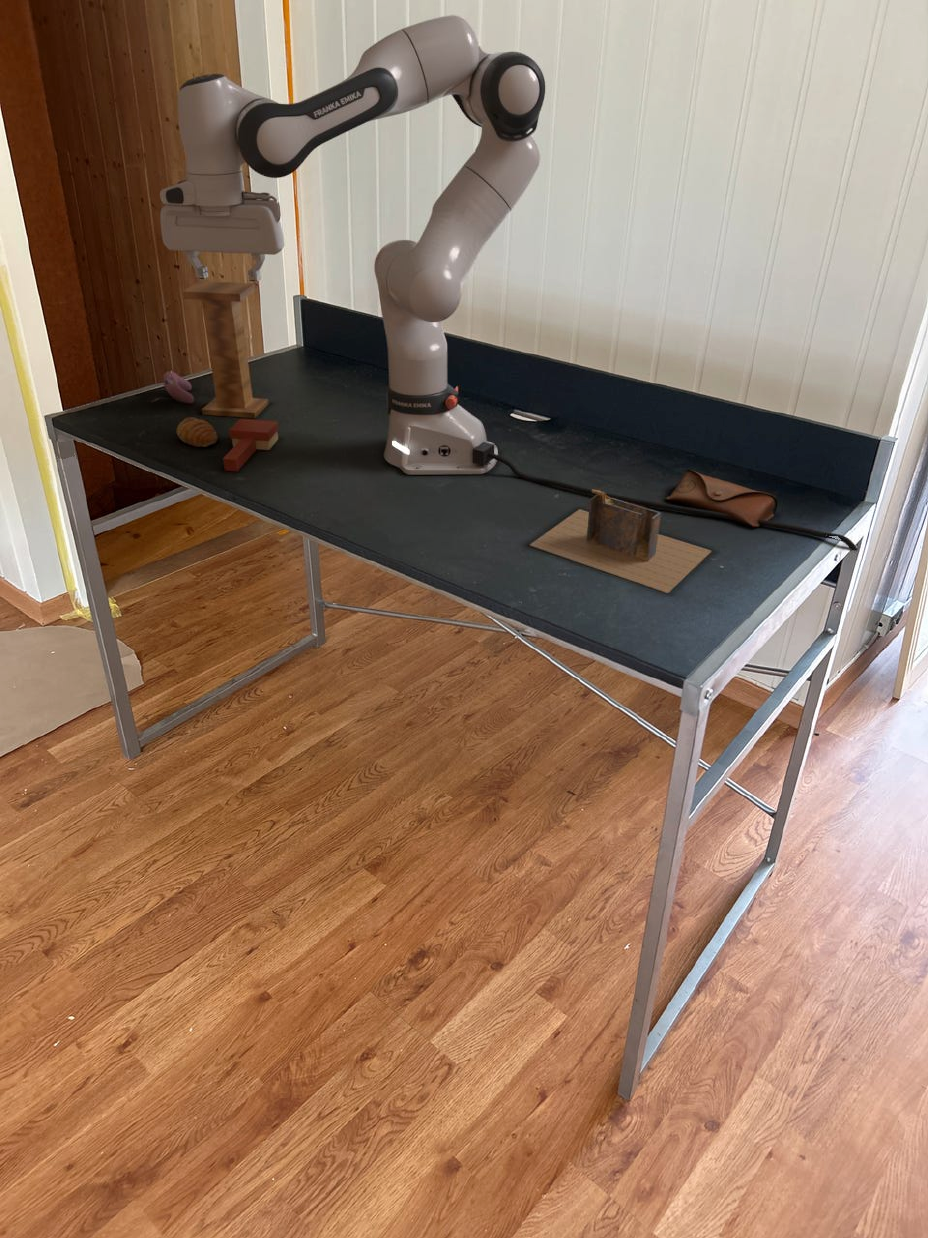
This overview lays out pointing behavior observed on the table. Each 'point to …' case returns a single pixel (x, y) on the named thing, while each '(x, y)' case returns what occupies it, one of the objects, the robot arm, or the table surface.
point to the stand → (227, 348)
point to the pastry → (196, 432)
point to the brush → (249, 441)
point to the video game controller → (178, 387)
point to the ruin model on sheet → (623, 543)
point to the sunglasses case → (724, 498)
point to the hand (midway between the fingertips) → (228, 279)
